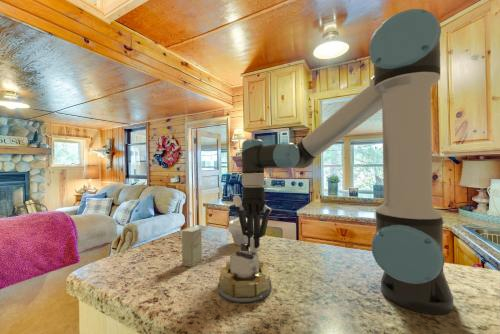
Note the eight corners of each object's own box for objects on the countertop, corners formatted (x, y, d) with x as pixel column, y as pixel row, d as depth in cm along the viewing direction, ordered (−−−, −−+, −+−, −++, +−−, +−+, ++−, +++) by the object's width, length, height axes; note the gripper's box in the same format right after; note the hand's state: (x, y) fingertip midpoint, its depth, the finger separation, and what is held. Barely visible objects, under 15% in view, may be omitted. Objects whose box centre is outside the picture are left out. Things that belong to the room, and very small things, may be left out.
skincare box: (192, 267, 78) (192, 231, 78) (181, 265, 79) (181, 230, 79) (202, 260, 84) (202, 227, 84) (191, 258, 85) (191, 226, 85)
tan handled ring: (271, 296, 57) (271, 269, 57) (217, 297, 57) (217, 270, 57) (264, 261, 79) (264, 242, 79) (225, 262, 78) (224, 243, 78)
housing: (282, 286, 65) (281, 252, 65) (245, 311, 53) (245, 270, 54) (244, 271, 75) (243, 241, 75) (206, 289, 64) (206, 255, 64)
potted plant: (240, 250, 94) (239, 189, 94) (223, 243, 102) (223, 187, 102) (261, 243, 102) (261, 187, 102) (244, 237, 111) (244, 186, 111)
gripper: (275, 186, 77) (275, 256, 76) (242, 185, 83) (242, 250, 82) (266, 187, 70) (267, 264, 70) (231, 186, 76) (231, 257, 75)
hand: (253, 257), depth 76 cm, fingers closed
